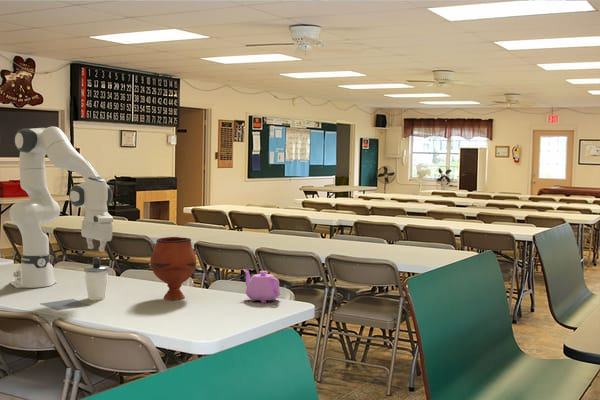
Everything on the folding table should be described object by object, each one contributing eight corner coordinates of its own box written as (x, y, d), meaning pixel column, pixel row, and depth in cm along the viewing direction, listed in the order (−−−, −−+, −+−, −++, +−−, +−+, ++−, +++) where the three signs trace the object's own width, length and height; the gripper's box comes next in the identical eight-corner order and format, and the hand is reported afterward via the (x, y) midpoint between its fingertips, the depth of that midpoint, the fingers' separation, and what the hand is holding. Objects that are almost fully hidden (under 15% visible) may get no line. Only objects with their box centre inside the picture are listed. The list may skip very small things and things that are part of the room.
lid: (79, 270, 289) (79, 257, 289) (102, 267, 296) (101, 255, 296) (91, 273, 282) (91, 260, 282) (113, 270, 289) (113, 257, 288)
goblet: (165, 292, 305) (165, 235, 304) (205, 295, 299) (205, 237, 297) (141, 300, 287) (141, 240, 286) (183, 304, 281) (182, 242, 279)
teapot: (232, 299, 291) (232, 270, 291) (255, 294, 302) (255, 266, 302) (268, 306, 279) (268, 275, 278) (290, 300, 290) (291, 271, 289)
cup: (101, 301, 284) (101, 272, 284) (81, 300, 286) (81, 271, 285) (112, 297, 293) (111, 269, 292) (92, 296, 295) (91, 268, 294)
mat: (39, 304, 278) (39, 303, 278) (73, 299, 288) (73, 298, 288) (57, 310, 266) (57, 310, 266) (91, 305, 276) (91, 305, 276)
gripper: (77, 214, 293) (77, 247, 294) (101, 219, 278) (100, 253, 279) (91, 214, 297) (91, 246, 298) (115, 218, 282) (115, 252, 283)
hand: (96, 250), depth 288 cm, fingers open, 8 cm apart
